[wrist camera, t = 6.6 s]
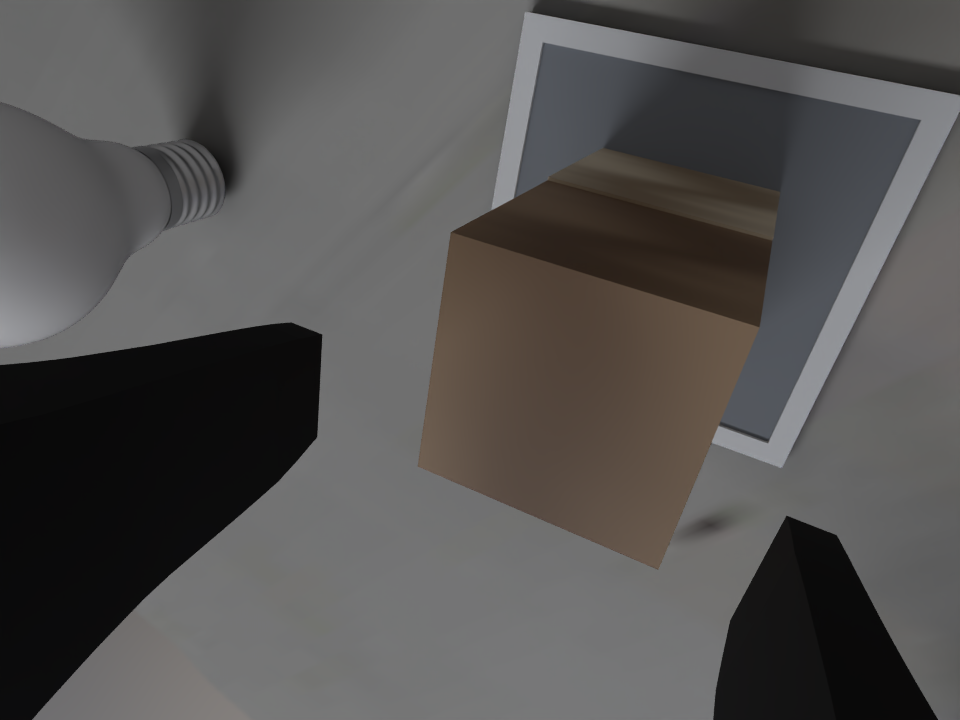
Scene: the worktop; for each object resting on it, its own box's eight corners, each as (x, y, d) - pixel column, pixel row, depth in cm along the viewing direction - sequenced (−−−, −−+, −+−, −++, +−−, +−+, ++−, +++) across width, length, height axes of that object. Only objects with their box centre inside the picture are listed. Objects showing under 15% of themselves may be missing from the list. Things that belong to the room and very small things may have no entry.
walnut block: (772, 240, 12) (758, 327, 8) (695, 433, 14) (658, 569, 11) (548, 180, 13) (451, 232, 10) (508, 366, 16) (417, 466, 12)
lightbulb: (252, 66, 21) (-171, 84, 12) (300, 260, 23) (-21, 398, 14) (119, 93, 23) (-308, 124, 14) (174, 264, 26) (-162, 383, 17)
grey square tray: (963, 95, 14) (967, 96, 14) (782, 460, 19) (781, 468, 18) (530, 12, 17) (525, 11, 16) (471, 348, 22) (466, 352, 21)
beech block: (780, 191, 16) (773, 237, 12) (717, 351, 18) (695, 431, 14) (603, 147, 17) (548, 176, 13) (564, 302, 19) (508, 363, 16)
